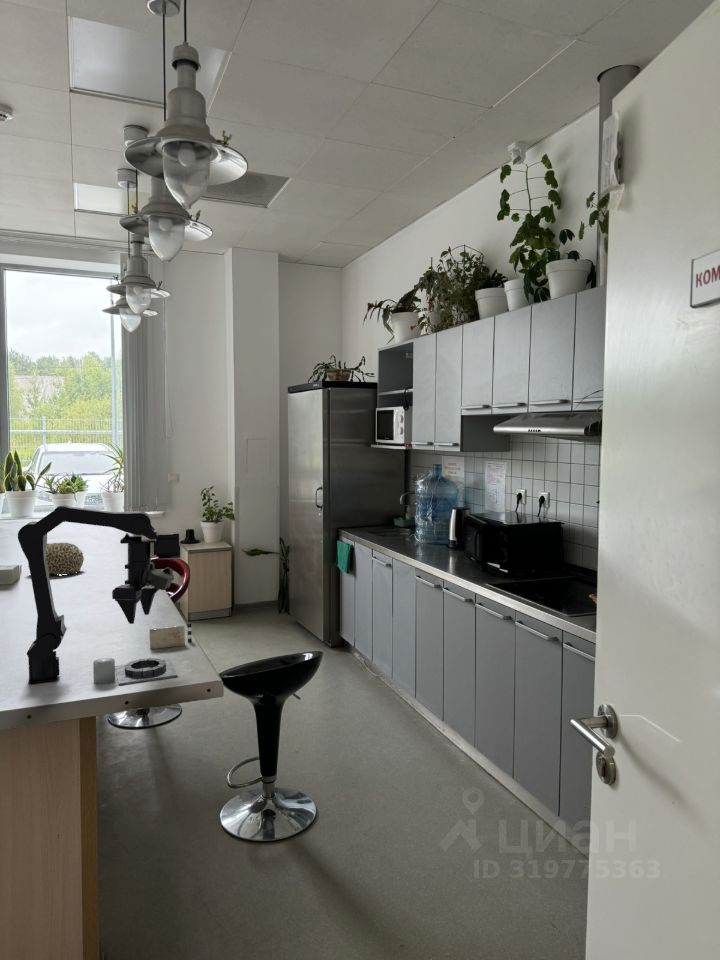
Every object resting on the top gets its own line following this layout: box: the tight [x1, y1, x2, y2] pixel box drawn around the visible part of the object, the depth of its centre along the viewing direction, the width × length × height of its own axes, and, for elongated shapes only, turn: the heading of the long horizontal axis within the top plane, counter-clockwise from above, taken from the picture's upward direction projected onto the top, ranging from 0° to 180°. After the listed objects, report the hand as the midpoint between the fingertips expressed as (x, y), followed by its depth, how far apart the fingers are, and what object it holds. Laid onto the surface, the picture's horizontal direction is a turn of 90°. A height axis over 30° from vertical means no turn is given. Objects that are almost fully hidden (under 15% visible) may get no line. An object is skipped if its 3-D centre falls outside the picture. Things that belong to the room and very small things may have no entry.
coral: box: [27, 542, 85, 576], centre depth 302 cm, size 23×18×15 cm
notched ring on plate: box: [115, 657, 179, 686], centre depth 172 cm, size 14×14×2 cm
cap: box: [92, 657, 116, 685], centre depth 166 cm, size 5×5×5 cm
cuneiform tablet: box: [149, 623, 193, 650], centre depth 194 cm, size 6×4×12 cm
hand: (139, 619), depth 174 cm, fingers open, 9 cm apart
